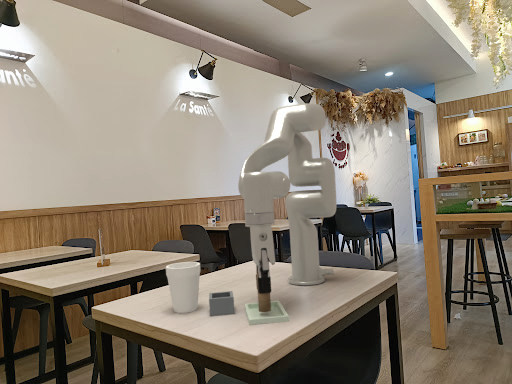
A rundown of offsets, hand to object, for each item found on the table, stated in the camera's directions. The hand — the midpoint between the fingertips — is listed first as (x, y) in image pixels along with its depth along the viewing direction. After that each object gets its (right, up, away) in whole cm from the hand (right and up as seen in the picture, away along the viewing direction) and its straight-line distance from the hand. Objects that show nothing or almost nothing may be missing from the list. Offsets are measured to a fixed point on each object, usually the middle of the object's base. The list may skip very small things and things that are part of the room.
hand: (263, 290), depth 99 cm
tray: (0, -7, 0) cm, 7 cm away
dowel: (0, -5, 0) cm, 5 cm away
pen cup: (-11, -7, +5) cm, 14 cm away
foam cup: (-22, -8, +9) cm, 25 cm away
